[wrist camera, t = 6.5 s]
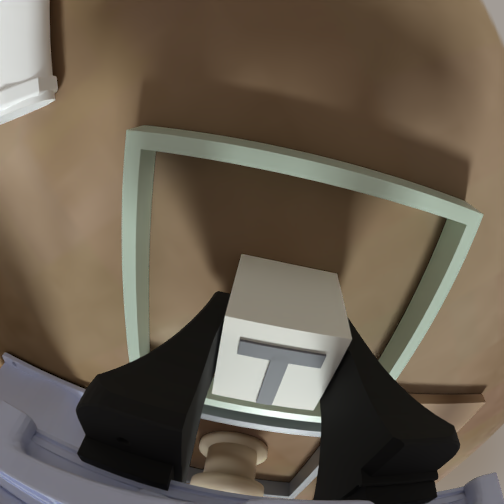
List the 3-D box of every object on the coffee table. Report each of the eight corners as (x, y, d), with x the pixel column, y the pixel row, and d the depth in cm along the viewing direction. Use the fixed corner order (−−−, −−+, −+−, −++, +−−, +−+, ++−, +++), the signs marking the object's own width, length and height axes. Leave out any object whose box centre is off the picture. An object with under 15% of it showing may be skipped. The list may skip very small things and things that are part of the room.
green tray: (141, 365, 17) (132, 384, 16) (144, 125, 11) (126, 129, 10) (358, 405, 17) (361, 425, 16) (465, 201, 11) (483, 214, 10)
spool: (198, 452, 22) (188, 494, 18) (202, 424, 19) (190, 473, 16) (260, 464, 22) (255, 506, 18) (274, 437, 19) (271, 487, 16)
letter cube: (227, 327, 15) (211, 395, 11) (241, 253, 13) (224, 318, 9) (310, 343, 15) (313, 412, 11) (337, 273, 13) (352, 341, 9)
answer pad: (340, 453, 20) (341, 462, 19) (390, 392, 16) (393, 402, 16) (425, 452, 20) (426, 459, 19) (482, 393, 16) (485, 402, 16)
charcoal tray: (153, 459, 23) (149, 472, 22) (142, 376, 17) (134, 394, 16) (294, 485, 23) (293, 498, 22) (352, 414, 17) (354, 434, 16)
